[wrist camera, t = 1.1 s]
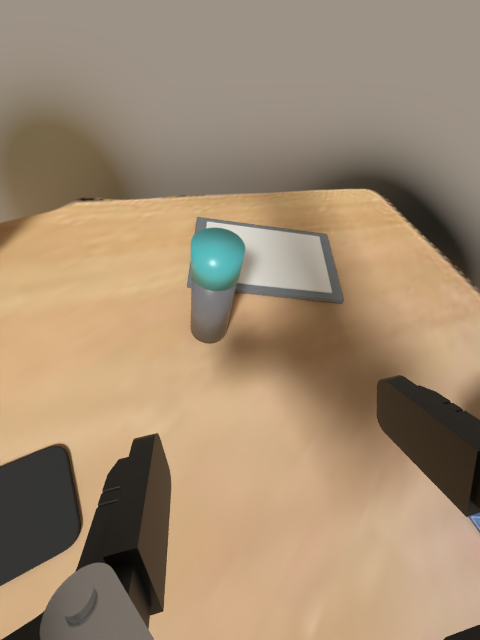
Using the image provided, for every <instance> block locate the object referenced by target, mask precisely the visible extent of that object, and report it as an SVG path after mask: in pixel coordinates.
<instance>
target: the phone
mask: <svg viewBox="0 0 480 640" xmlns="http://www.w3.org/2000/svg"><path fill="white" fill-rule="evenodd" d="M80 527H81V524H80V516H79V511H78V505H77V500H76V494H75V488H74V483H73V478H72V472H71V467H70V461H69V457H68V454H67V452H66V450H65V449H63V448H61V447H58V446H54V447H49V448H46V449H44V450H41V451H39V452H36V453H34V454H31V455H29V456H27V457H24V458H22V459H19V460H17V461H14V462H12V463H9V464H7V465H5V466H2V467H0V586H1V585H3V584H5V583H7V582H9V581H11V580H12V579H14V578H16V577H18V576H20V575H22V574H23V573H25V572H27V571H29V570H31V569H33V568H34V567H36V566H38V565H40V564H42V563H44V562H45V561H47V560H49V559H51V558H53V557H55V556H56V555H58V554H60V553H62V552H64V551H65V550H67V549H68V548H69V547H71V546H72V545H73V544H74V542H75V541H76V540H77V538H78V536H79V533H80Z"/></svg>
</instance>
